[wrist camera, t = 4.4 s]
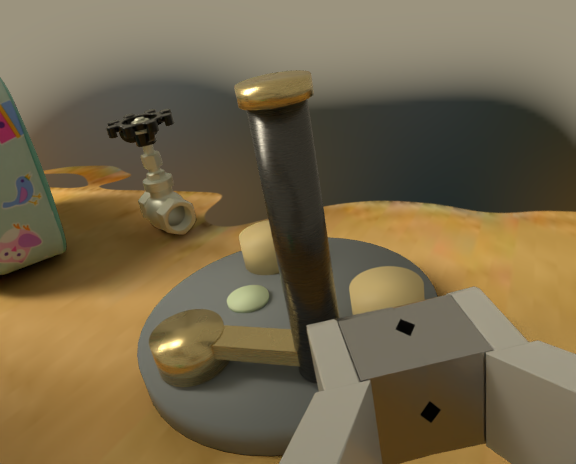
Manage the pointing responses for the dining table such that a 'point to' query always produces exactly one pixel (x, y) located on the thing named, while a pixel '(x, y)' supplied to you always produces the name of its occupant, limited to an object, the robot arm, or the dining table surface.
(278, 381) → the plate
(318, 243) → the lever
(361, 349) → the robot arm
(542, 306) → the dining table surface
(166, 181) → the valve
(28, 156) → the lunch box
